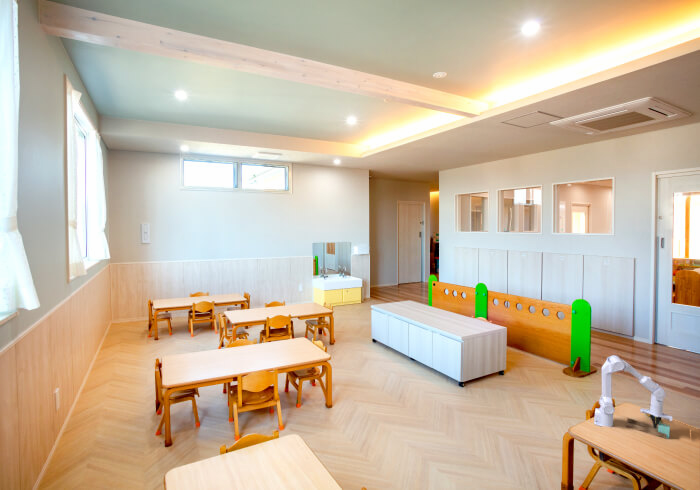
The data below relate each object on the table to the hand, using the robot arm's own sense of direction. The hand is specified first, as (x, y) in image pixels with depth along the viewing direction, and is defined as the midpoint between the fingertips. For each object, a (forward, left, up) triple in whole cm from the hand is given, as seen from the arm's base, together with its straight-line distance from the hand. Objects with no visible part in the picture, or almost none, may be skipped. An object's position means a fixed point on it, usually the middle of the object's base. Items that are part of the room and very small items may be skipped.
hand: (655, 427), depth 216 cm
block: (+4, 0, -3) cm, 5 cm away
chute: (-4, 0, -4) cm, 6 cm away
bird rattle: (-1, +18, -4) cm, 19 cm away
